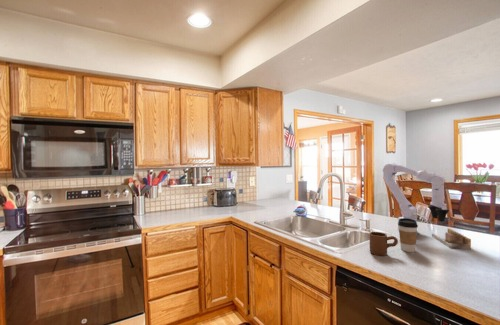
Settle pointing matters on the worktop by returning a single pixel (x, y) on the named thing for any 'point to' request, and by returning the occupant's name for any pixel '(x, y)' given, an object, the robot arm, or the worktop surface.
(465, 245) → the board
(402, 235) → the coffee cup
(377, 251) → the mug
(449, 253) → the worktop surface
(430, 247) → the worktop surface
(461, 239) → the cabinet block
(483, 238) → the worktop surface
